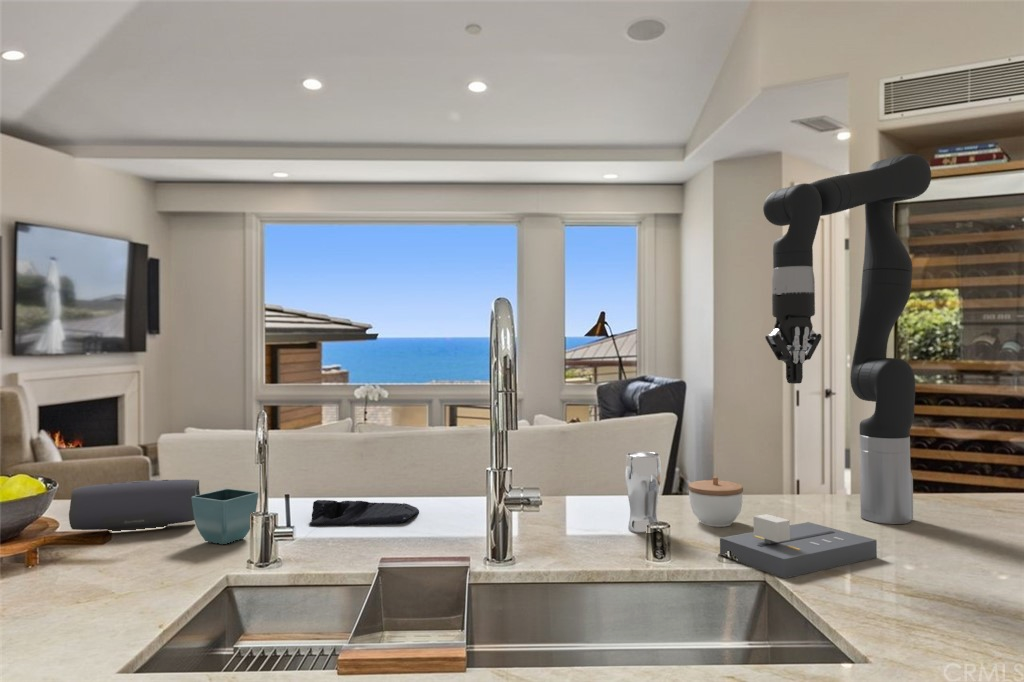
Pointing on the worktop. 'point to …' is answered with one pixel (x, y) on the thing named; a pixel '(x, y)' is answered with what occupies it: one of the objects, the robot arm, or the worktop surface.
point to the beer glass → (643, 488)
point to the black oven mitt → (359, 513)
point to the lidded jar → (715, 501)
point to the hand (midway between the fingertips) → (794, 383)
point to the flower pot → (224, 514)
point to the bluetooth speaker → (132, 505)
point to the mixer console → (800, 550)
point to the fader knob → (771, 528)
